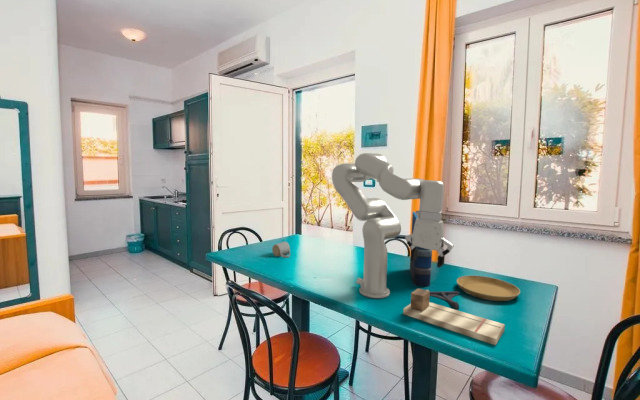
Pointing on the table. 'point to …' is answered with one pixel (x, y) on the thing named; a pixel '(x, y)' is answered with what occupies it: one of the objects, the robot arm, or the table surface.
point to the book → (421, 263)
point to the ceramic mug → (281, 249)
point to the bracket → (447, 297)
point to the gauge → (420, 299)
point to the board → (459, 322)
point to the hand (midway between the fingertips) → (426, 263)
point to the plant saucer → (488, 288)
